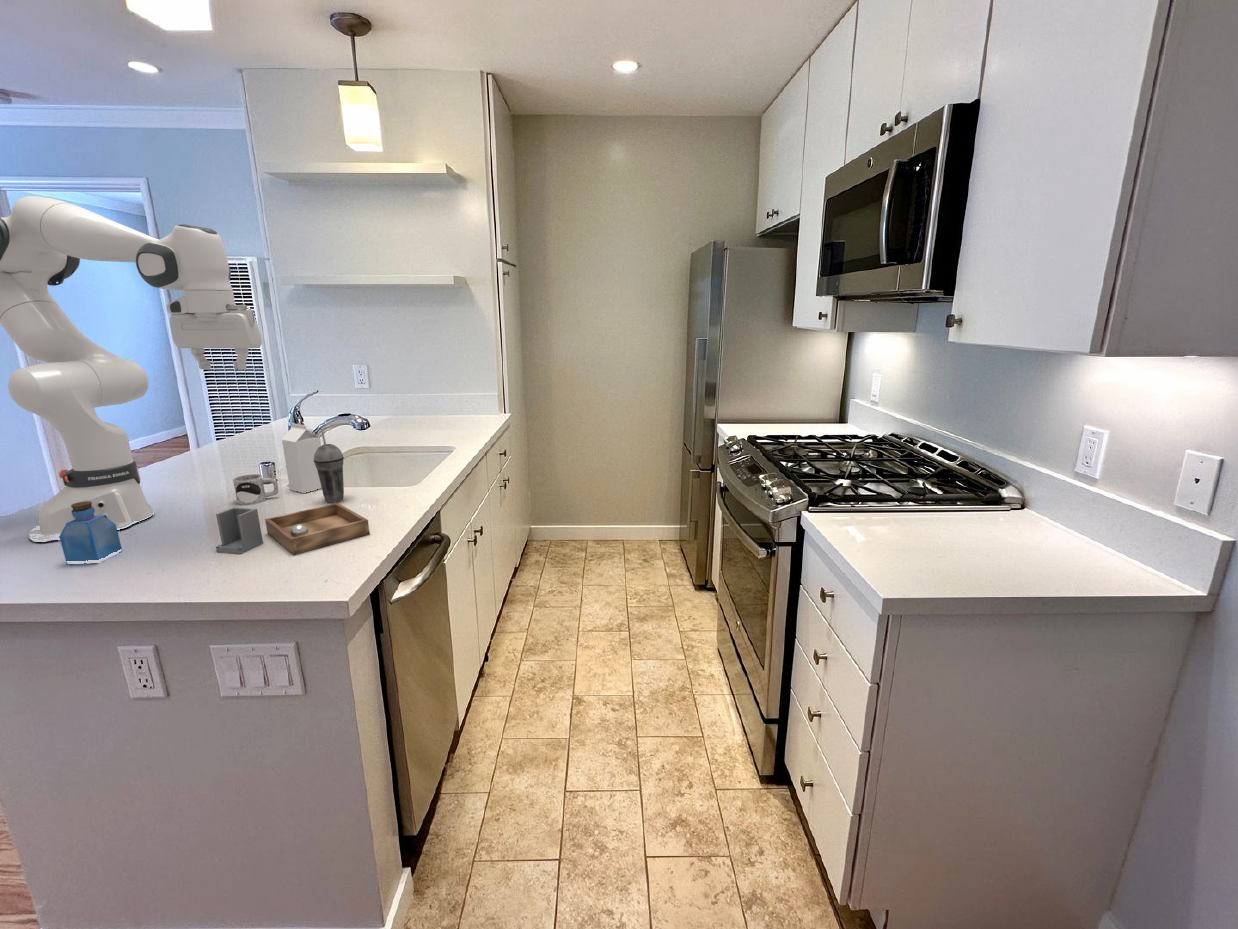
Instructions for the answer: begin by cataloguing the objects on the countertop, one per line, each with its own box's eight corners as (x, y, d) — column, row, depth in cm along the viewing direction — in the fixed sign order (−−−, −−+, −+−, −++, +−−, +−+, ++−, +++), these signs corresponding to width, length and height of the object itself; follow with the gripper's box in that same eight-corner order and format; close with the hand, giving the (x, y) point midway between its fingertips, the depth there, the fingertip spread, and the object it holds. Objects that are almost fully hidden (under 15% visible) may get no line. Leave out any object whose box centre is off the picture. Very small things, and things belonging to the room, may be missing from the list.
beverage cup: (354, 496, 158) (345, 425, 153) (339, 505, 151) (329, 430, 146) (329, 496, 159) (319, 425, 154) (313, 504, 152) (302, 430, 147)
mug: (235, 506, 152) (230, 482, 150) (239, 499, 157) (235, 476, 156) (278, 501, 155) (274, 477, 154) (281, 494, 161) (277, 471, 160)
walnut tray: (293, 555, 120) (290, 539, 119) (267, 533, 132) (264, 519, 131) (369, 534, 131) (367, 519, 130) (339, 516, 143) (337, 502, 142)
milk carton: (303, 494, 161) (293, 427, 157) (289, 490, 165) (279, 425, 160) (327, 487, 167) (318, 423, 162) (313, 484, 171) (304, 421, 166)
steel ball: (303, 518, 126) (313, 530, 128) (289, 526, 126) (299, 537, 128) (299, 527, 123) (310, 538, 125) (284, 534, 123) (295, 546, 125)
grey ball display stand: (240, 554, 121) (233, 518, 119) (216, 552, 122) (209, 516, 120) (263, 543, 126) (257, 508, 124) (240, 541, 127) (233, 507, 125)
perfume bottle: (91, 553, 122) (77, 499, 119) (122, 551, 123) (109, 498, 120) (67, 565, 116) (51, 509, 113) (99, 563, 117) (85, 508, 114)
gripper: (263, 304, 125) (273, 368, 129) (186, 305, 130) (198, 367, 133) (239, 304, 119) (250, 371, 123) (159, 305, 124) (172, 369, 127)
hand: (222, 369), depth 128 cm, fingers open, 8 cm apart
